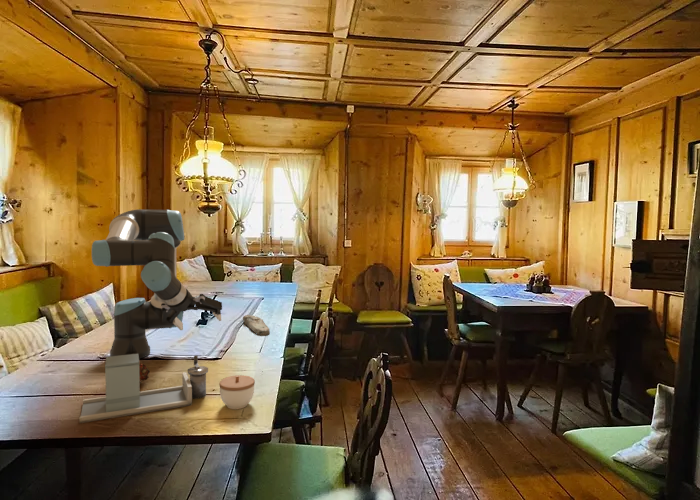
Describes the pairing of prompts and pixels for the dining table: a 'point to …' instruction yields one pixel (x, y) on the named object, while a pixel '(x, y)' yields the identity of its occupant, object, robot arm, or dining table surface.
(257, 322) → the elongated rock
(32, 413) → the dining table surface
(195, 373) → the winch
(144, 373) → the dragon fruit
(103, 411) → the bay
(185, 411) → the dining table surface
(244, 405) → the lidded jar
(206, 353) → the dining table surface
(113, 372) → the grey tall block
